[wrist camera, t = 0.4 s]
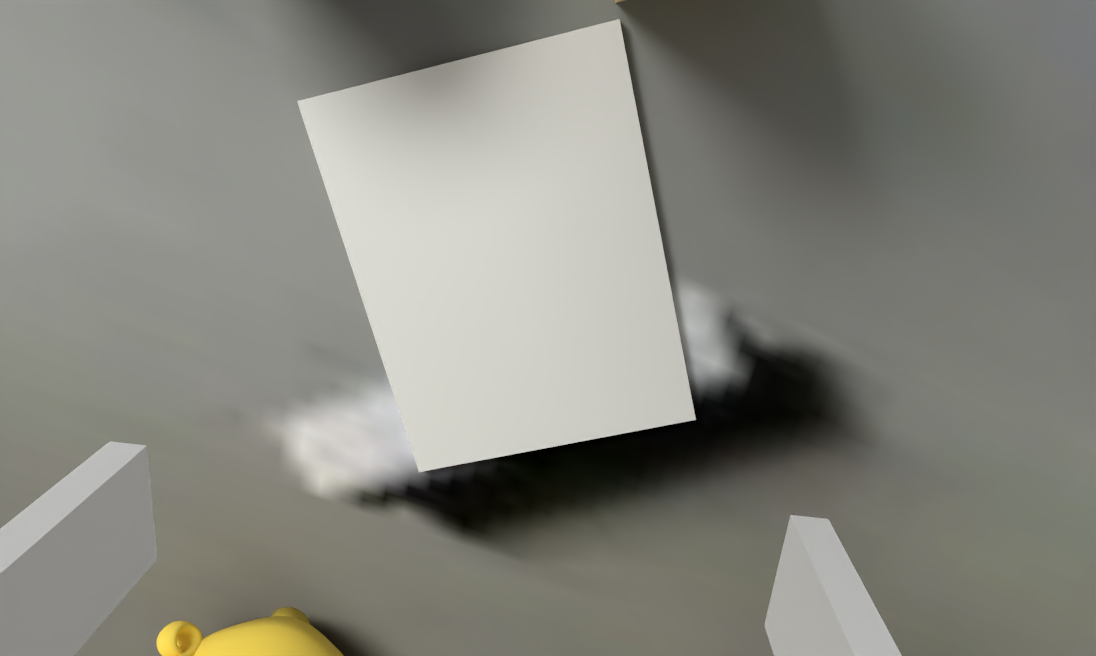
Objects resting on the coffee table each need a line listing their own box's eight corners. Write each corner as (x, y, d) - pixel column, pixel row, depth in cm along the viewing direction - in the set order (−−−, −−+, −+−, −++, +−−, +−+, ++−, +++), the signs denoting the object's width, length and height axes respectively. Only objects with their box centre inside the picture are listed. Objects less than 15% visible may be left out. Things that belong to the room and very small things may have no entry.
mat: (301, 100, 37) (297, 101, 37) (618, 19, 35) (619, 19, 35) (421, 466, 44) (419, 472, 43) (694, 414, 42) (695, 419, 41)
